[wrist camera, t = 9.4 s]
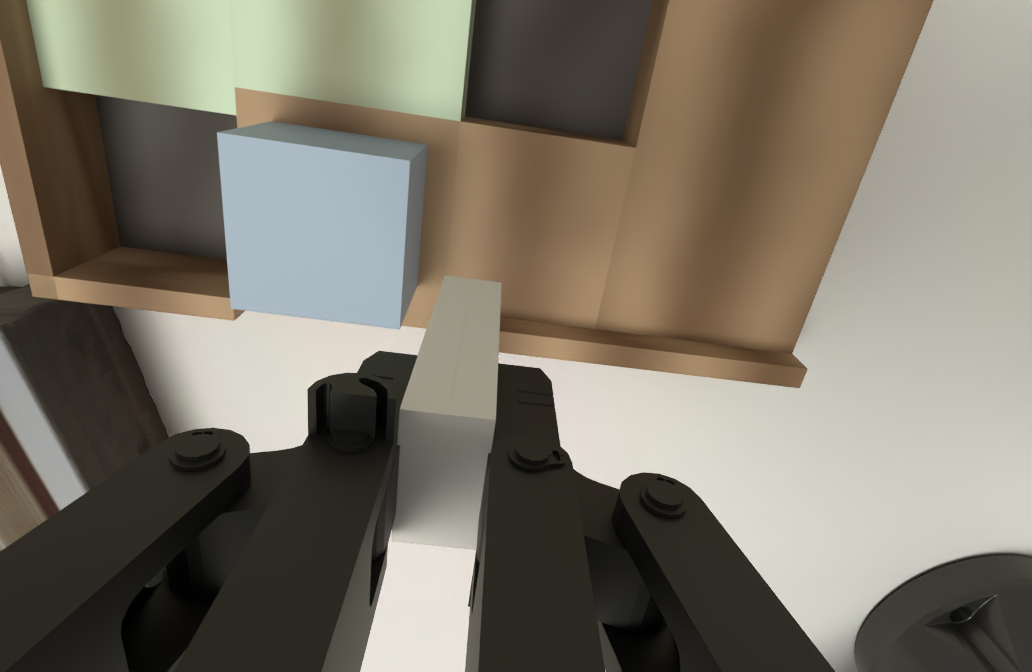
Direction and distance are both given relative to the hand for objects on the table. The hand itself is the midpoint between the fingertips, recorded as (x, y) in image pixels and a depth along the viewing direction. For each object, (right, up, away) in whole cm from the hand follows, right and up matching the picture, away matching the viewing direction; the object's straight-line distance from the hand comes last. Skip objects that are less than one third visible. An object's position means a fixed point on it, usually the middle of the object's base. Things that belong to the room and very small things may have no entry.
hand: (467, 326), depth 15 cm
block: (-6, +5, +8) cm, 11 cm away
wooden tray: (-1, +9, +9) cm, 13 cm away
